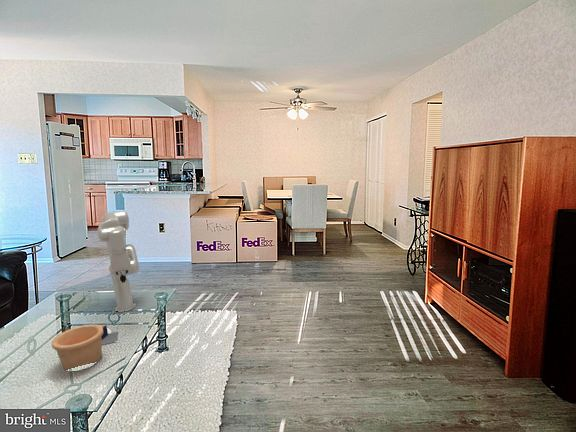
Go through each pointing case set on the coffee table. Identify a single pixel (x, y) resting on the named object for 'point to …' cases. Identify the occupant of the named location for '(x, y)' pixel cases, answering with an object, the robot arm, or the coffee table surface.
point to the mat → (110, 338)
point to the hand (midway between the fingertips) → (123, 281)
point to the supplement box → (104, 331)
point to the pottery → (79, 346)
